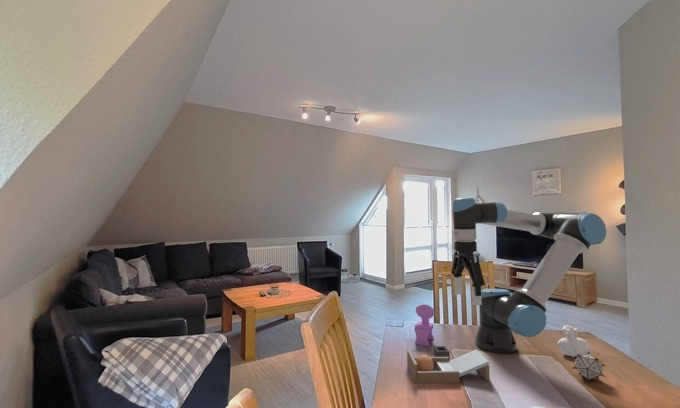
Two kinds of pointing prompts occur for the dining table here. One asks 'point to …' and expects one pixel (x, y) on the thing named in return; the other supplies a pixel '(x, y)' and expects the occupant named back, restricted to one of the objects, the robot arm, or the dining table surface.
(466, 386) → the dining table surface
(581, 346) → the bust
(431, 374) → the ramp with walled tray
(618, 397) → the dining table surface
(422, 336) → the toy chair
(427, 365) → the ball
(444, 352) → the square sleeve
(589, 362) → the game die
